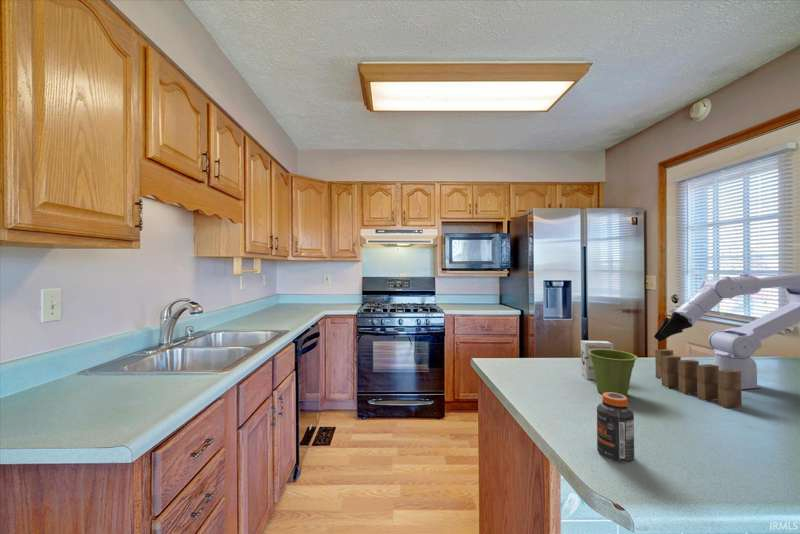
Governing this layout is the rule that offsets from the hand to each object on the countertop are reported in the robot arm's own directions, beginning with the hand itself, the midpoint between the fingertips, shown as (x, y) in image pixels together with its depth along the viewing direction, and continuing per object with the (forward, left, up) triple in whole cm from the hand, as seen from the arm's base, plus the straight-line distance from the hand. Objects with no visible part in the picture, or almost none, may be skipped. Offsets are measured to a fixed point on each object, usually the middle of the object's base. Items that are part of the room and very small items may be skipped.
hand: (660, 337), depth 104 cm
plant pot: (+22, +4, -14) cm, 27 cm away
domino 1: (-6, -4, -14) cm, 16 cm away
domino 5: (0, +18, -14) cm, 23 cm away
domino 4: (0, +13, -14) cm, 19 cm away
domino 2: (0, +3, -14) cm, 15 cm away
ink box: (+15, -9, -14) cm, 23 cm away
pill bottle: (+48, +31, -14) cm, 59 cm away
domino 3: (0, +8, -14) cm, 16 cm away
